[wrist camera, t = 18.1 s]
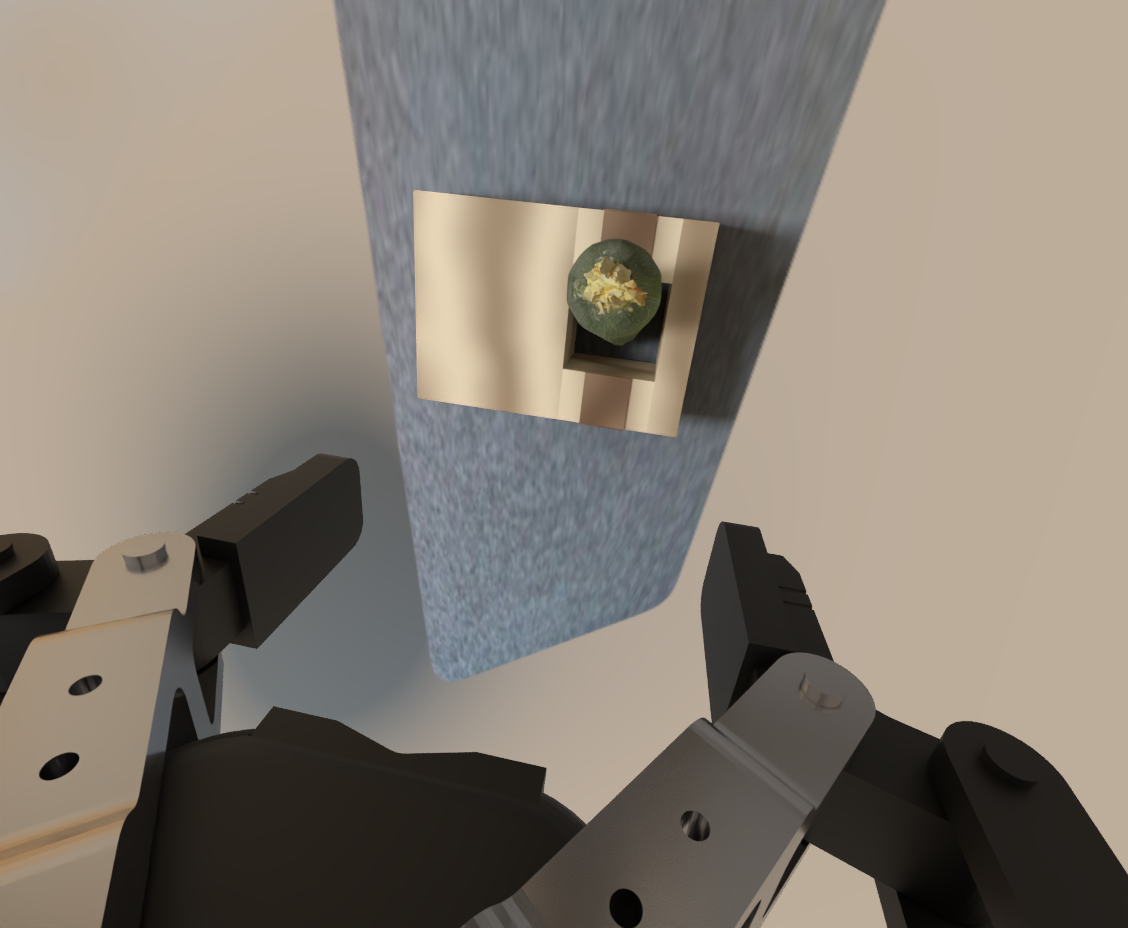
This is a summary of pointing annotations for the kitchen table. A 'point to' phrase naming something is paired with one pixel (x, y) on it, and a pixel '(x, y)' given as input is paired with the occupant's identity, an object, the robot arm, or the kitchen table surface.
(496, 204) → the wooden block with hole
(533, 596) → the kitchen table surface
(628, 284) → the vegetable
